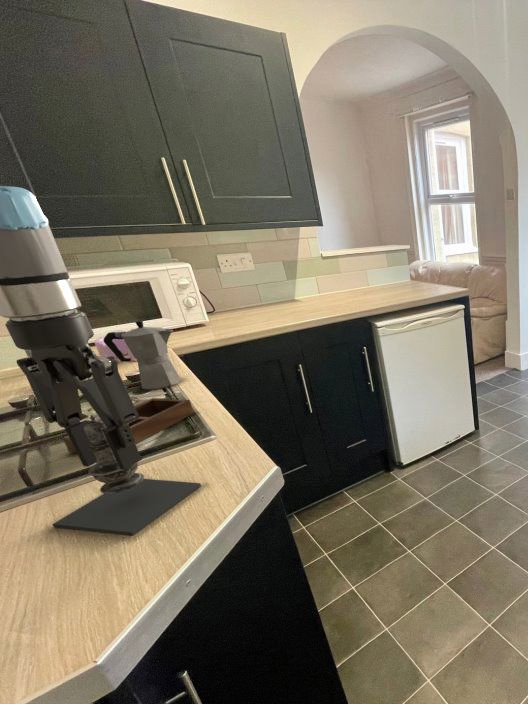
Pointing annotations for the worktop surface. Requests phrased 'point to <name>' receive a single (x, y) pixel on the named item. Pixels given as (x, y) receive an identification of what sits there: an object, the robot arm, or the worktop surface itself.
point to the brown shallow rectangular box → (152, 418)
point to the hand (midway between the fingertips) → (113, 462)
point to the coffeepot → (147, 354)
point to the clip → (106, 351)
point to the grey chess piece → (108, 462)
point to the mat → (128, 507)
